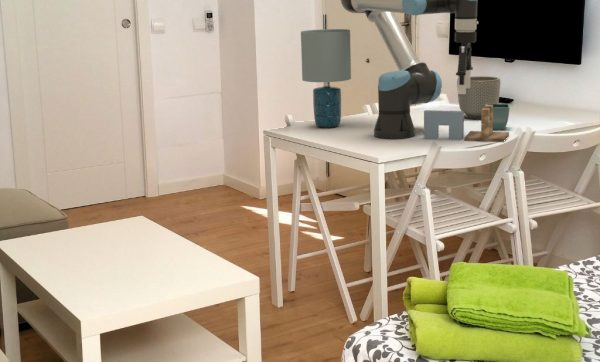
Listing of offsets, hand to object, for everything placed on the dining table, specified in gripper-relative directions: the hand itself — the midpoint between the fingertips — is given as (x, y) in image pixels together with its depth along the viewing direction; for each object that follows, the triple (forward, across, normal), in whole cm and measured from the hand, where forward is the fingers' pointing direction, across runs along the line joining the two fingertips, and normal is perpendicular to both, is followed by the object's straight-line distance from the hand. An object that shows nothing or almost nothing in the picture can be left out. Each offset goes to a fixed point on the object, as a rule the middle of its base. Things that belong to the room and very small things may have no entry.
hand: (464, 91), depth 319 cm
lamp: (+19, +18, +56) cm, 62 cm away
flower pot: (+17, +20, -10) cm, 29 cm away
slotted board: (+17, -2, +7) cm, 19 cm away
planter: (+18, +46, -1) cm, 49 cm away
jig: (+17, +1, -8) cm, 19 cm away
